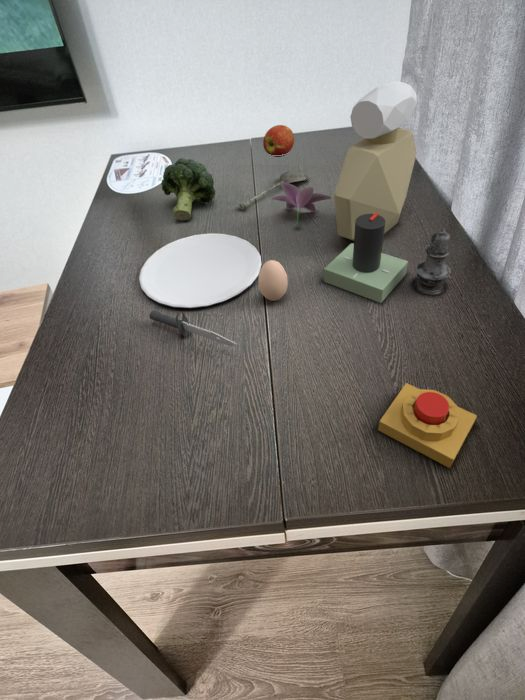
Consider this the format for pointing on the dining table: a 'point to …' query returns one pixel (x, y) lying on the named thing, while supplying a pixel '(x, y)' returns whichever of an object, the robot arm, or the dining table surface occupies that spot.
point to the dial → (368, 242)
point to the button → (431, 408)
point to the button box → (427, 427)
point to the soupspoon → (285, 177)
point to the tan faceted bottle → (377, 158)
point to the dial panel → (365, 275)
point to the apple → (278, 140)
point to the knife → (188, 327)
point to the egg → (273, 280)
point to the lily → (299, 198)
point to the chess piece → (434, 265)
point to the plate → (200, 270)
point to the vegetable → (187, 185)
